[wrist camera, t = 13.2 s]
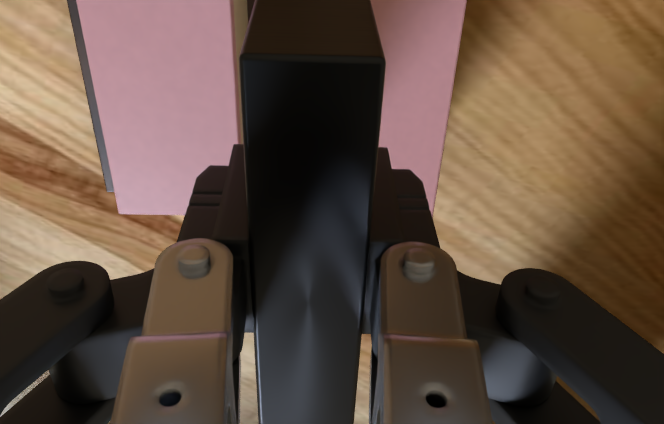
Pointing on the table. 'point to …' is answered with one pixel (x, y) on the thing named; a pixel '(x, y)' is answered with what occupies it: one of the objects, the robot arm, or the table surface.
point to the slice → (418, 82)
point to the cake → (164, 93)
